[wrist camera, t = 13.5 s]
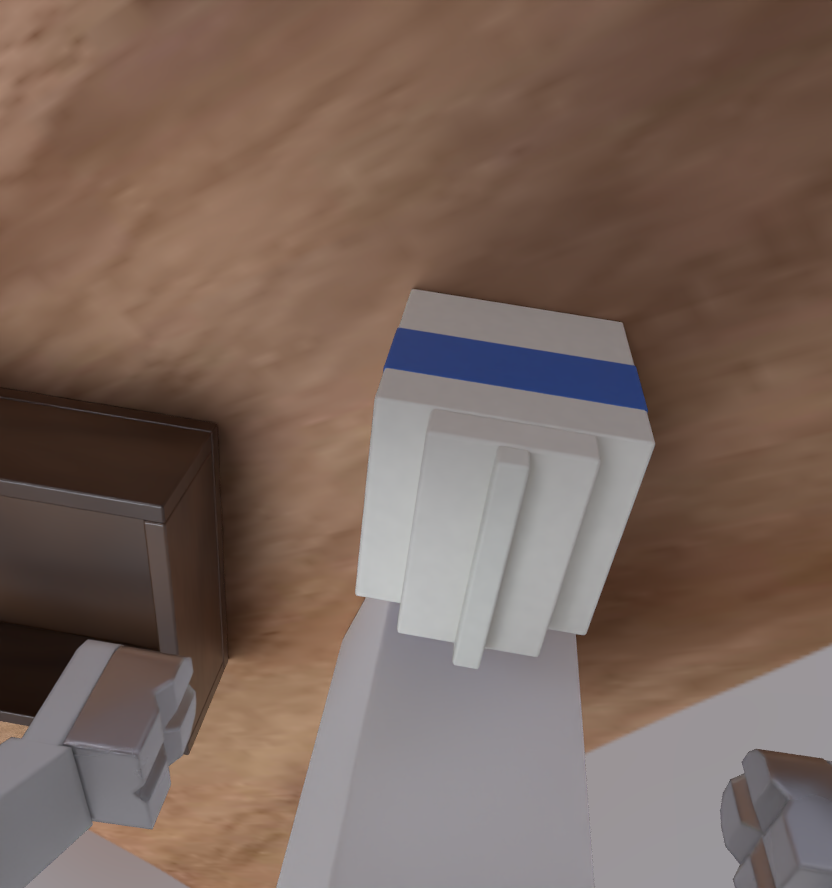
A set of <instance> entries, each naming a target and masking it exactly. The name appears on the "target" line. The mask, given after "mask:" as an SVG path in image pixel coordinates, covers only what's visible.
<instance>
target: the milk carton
mask: <svg viewBox="0 0 832 888" xmlns="http://www.w3.org/2000/svg"><path fill="white" fill-rule="evenodd" d="M647 413H648V409H647V405H646V401H645V398H644V394H643V390H642V387H641V383H640V379H639V376H638V372H637V368H636V366H634V363H633V359H632V355H631V352H630V348H629V344H628V341H627V337H626V333H625V330H624V326H623V323H622V322H617V321H610V320H604V319H598V318H592V317H585V316H579V315H573V314H567V313H560V312H554V311H548V310H542V309H535V308H529V307H523V306H517V305H510V304H504V303H498V302H492V301H485V300H479V299H473V298H467V297H460V296H454V295H448V294H442V293H435V292H429V291H423V290H417V289H412V290H411V292H410V295H409V298H408V301H407V304H406V307H405V310H404V313H403V316H402V319H401V322H400V325H399V328H397V330H396V333H395V336H394V339H393V342H392V345H391V348H390V351H389V354H388V357H387V360H386V363H385V365H384V369H383V375H382V378H381V381H380V384H379V387H378V390H377V393H376V396H375V401H374V410H373V420H372V430H371V440H370V450H369V460H368V470H367V480H366V490H365V500H364V510H363V520H362V530H361V540H360V550H359V560H358V570H357V580H356V590H355V593H356V595H357V596H362V597H368V598H374V599H380V600H385V601H391V602H397V603H400V609H399V616H398V622H397V631H398V632H399V633H402V634H408V635H413V636H419V637H425V638H430V639H436V640H442V641H447V642H453V643H454V649H453V658H452V662H453V664H454V665H456V666H462V667H468V668H473V669H478V668H479V667H480V664H481V660H482V656H483V652H484V648H487V649H493V650H498V651H504V652H510V653H515V654H521V655H527V656H532V657H538V656H539V654H540V652H541V648H542V645H543V642H544V639H545V636H546V633H547V630H548V629H551V630H556V631H562V632H568V633H573V634H579V635H585V634H586V633H587V630H588V627H589V625H590V622H591V619H592V616H593V614H594V611H595V608H596V605H597V603H598V600H599V597H600V594H601V592H602V589H603V586H604V584H605V581H606V578H607V575H608V573H609V570H610V567H611V564H612V562H613V559H614V556H615V553H616V551H617V548H618V545H619V542H620V540H621V537H622V534H623V531H624V529H625V526H626V523H627V521H628V518H629V515H630V512H631V510H632V507H633V504H634V501H635V499H636V496H637V493H638V490H639V488H640V485H641V482H642V479H643V477H644V474H645V471H646V469H647V466H648V463H649V460H650V458H651V455H652V452H653V449H654V447H655V441H654V437H653V433H652V430H651V426H650V422H649V419H648V415H647Z"/></svg>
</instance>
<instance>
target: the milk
mask: <svg viewBox="0 0 832 888" xmlns="http://www.w3.org/2000/svg"><path fill="white" fill-rule="evenodd" d="M399 609H400V603H397V602H391V601H385V600H380V599H374V598H368V597H366V598H365V600H364V602H363V604H362V605H361V607H360V609H359V611H358V613H357V615H356V616H355V618H354V620H353V622H352V624H351V625H350V627H349V629H348V631H347V633H346V634H345V636H344V638H343V641H342V644H341V648H340V651H339V655H338V659H337V663H336V666H335V670H334V674H333V678H332V681H331V685H330V689H329V693H328V696H327V700H326V704H325V708H324V711H323V715H322V719H321V722H320V726H319V730H318V734H317V737H316V741H315V745H314V749H313V752H312V756H311V760H310V764H309V767H308V771H307V775H306V779H305V782H304V786H303V790H302V794H301V797H300V801H299V805H298V809H297V812H296V816H295V820H294V824H293V827H292V831H291V835H290V838H289V842H288V846H287V850H286V853H285V857H284V861H283V865H282V868H281V872H280V876H279V880H278V883H277V887H276V888H595V886H594V873H593V859H592V846H591V834H590V833H591V832H590V819H589V805H588V793H587V778H586V765H585V752H584V738H583V725H582V711H581V698H580V684H579V671H578V658H577V644H576V634H573V633H568V632H562V631H556V630H551V629H548V630H547V633H546V636H545V639H544V642H543V645H542V648H541V652H540V654H539V656H538V657H532V656H527V655H521V654H515V653H510V652H504V651H498V650H493V649H487V648H484V652H483V656H482V660H481V664H480V667H479V668H478V669H473V668H468V667H462V666H456V665H454V664H453V662H452V658H453V649H454V643H453V642H447V641H442V640H436V639H430V638H425V637H419V636H413V635H408V634H402V633H399V632H398V631H397V622H398V616H399Z"/></svg>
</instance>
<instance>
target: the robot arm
mask: <svg viewBox="0 0 832 888" xmlns="http://www.w3.org/2000/svg"><path fill="white" fill-rule="evenodd" d="M193 672H194V671H193V665H192V659H191V657H185V656H179V655H174V654H168V653H163V652H157V651H152V650H146V649H141V648H135V647H129V646H124V645H120V644H114V643H108V642H102V641H96V640H89V639H88V640H86V641H85V642H84V643H83V644H82V645H81V646H80V647H79V648H78V649H77V650H76V652H75V653H74V655H73V657H72V658H71V660H70V661H69V663H68V665H67V666H66V668H65V669H64V671H63V673H62V674H61V676H60V677H59V679H58V681H57V682H56V684H55V686H54V687H53V689H52V690H51V692H50V694H49V695H48V697H47V698H46V700H45V702H44V703H43V705H42V707H41V708H40V710H39V711H38V713H37V715H36V716H35V718H34V719H33V721H32V723H31V724H30V726H29V728H28V729H27V731H26V732H25V734H24V736H23V737H22V738H15V737H11V738H9V739H8V740H6V741H5V742H3V743H2V744H0V888H24V887H25V886H27V885H28V884H29V883H30V882H31V881H32V880H33V879H34V878H35V877H36V876H37V875H39V874H40V873H41V872H42V871H43V870H44V869H45V868H46V867H47V866H48V865H50V864H51V863H52V862H53V861H54V860H55V859H56V858H57V857H58V856H59V855H60V854H62V853H63V852H64V851H65V850H66V849H67V848H68V847H69V846H70V845H71V844H73V843H74V842H75V841H76V840H77V839H78V838H79V837H80V836H81V835H82V834H83V833H85V831H87V830H88V829H89V828H90V827H91V826H92V824H93V823H92V821H96V822H103V823H110V824H117V825H124V826H131V827H139V828H146V829H153V827H154V824H155V822H156V819H157V817H158V815H159V812H160V810H161V807H162V805H163V802H164V800H165V798H166V795H167V793H168V790H169V788H170V785H171V781H170V774H169V767H168V766H170V765H171V764H172V763H173V762H175V761H176V760H177V759H179V758H180V757H181V756H183V753H184V751H185V748H186V746H187V743H188V741H189V738H190V735H191V731H192V727H193V723H194V719H195V713H196V691H195V690H194V689H193V688H192V687H191V686H190V685H189V682H190V679H191V677H192V675H193ZM742 765H743V768H744V774H742V775H739V776H737V777H735V778H733V779H730V781H729V783H728V785H727V787H726V788H725V790H724V792H723V796H722V803H721V809H720V815H721V828H722V832H723V838H724V842H725V846H726V848H727V849H728V850H729V851H730V853H731V854H732V855H733V856H734V857H735V859H736V860H737V861H738V862H739V864H740V866H739V868H738V870H737V872H736V874H735V876H734V878H733V882H734V885H735V888H832V761H826V760H824V759H822V758H815V757H808V756H801V755H795V754H788V753H781V752H774V751H767V750H761V749H754V750H752V751H749V752H748V753H747V755H746V756H745V758H744V759H743V761H742Z"/></svg>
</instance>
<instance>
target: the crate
mask: <svg viewBox="0 0 832 888" xmlns="http://www.w3.org/2000/svg"><path fill="white" fill-rule="evenodd" d="M88 639H89V640H96V641H102V642H108V643H114V644H120V645H124V646H129V647H135V648H141V649H146V650H152V651H157V652H163V653H168V654H174V655H179V656H185V657H191V659H192V665H193V671H194V672H193V675H192V677H191V679H190V682H189V685H190V686H191V687H192V688H193V689H194V690H195V691H196V713H195V719H194V723H193V727H192V731H191V735H190V738H189V741H188V743H187V746H186V748H185V751H184V753H183V754H185V755H189V753H190V751H191V748H192V746H193V744H194V741H195V739H196V736H197V734H198V732H199V729H200V727H201V724H202V722H203V720H204V717H205V715H206V713H207V710H208V708H209V705H210V703H211V701H212V698H213V696H214V694H215V691H216V689H217V686H218V684H219V682H220V679H221V677H222V674H223V672H224V669H225V667H226V665H227V663H228V644H227V623H226V601H225V579H224V558H223V536H222V514H221V493H220V471H219V449H218V427H217V424H216V423H212V422H206V421H199V420H193V419H187V418H181V417H175V416H169V415H163V414H157V413H151V412H145V411H139V410H132V409H126V408H120V407H114V406H108V405H102V404H96V403H90V402H84V401H78V400H71V399H65V398H59V397H53V396H47V395H41V394H35V393H29V392H23V391H17V390H11V389H4V388H0V721H3V722H9V723H14V724H20V725H25V726H30V724H31V723H32V721H33V719H34V718H35V716H36V715H37V713H38V711H39V710H40V708H41V707H42V705H43V703H44V702H45V700H46V698H47V697H48V695H49V694H50V692H51V690H52V689H53V687H54V686H55V684H56V682H57V681H58V679H59V677H60V676H61V674H62V673H63V671H64V669H65V668H66V666H67V665H68V663H69V661H70V660H71V658H72V657H73V655H74V653H75V652H76V650H77V649H78V648H79V647H80V646H81V645H82V644H83V643H84V642H85V641H86V640H88Z"/></svg>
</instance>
